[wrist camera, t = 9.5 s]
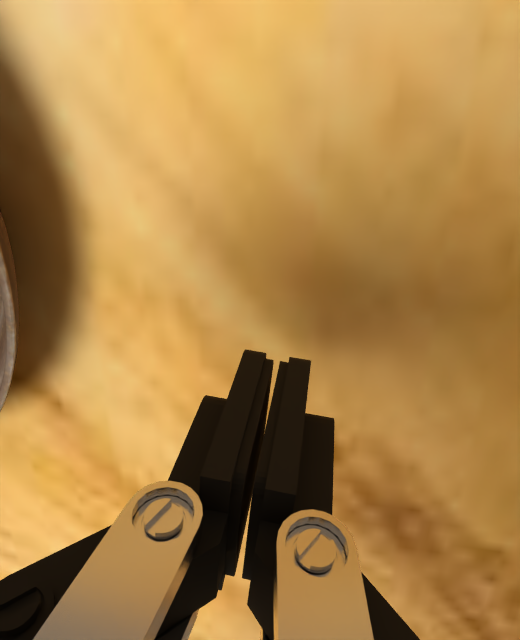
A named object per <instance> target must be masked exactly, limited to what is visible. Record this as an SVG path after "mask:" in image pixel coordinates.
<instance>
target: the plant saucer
mask: <svg viewBox="0 0 520 640" xmlns="http://www.w3.org/2000/svg"><path fill="white" fill-rule="evenodd" d="M18 333H19V301H18V290H17V280H16V273H15V266H14V259H13V255H12V250H11V246H10V242H9V238H8V234H7V230H6V226H5V223H4V220H3V217H2V214H1V211H0V411H1V409H2V407H3V405H4V403H5V400H6V397H7V395H8V391H9V388H10V385H11V381H12V376H13V371H14V366H15V361H16V356H17V347H18Z"/></svg>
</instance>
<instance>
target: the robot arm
mask: <svg viewBox="0 0 520 640" xmlns="http://www.w3.org/2000/svg"><path fill="white" fill-rule="evenodd" d="M310 365H311V361H310V360H304V359H298V358H292V357H290V358H289V363H287V362H282V361H280V364H279V369H278V374H277V378H276V383H275V388H274V392H273V397H272V401H271V406H270V411H269V415H268V420H267V424H266V417H267V409H268V401H269V393H270V386H271V378H272V370H273V360H270V359H266V353H263V352H257V351H251V350H244V353H243V356H242V358H241V361H240V364H239V367H238V370H237V373H236V375H235V378H234V381H233V384H232V387H231V390H230V392H229V395H228V398H227V399H224V398H218V397H212V396H207V395H206V396H205V397H204V398H203V400H202V402H201V404H200V406H199V409H198V411H197V413H196V416H195V418H194V420H193V423H192V425H191V428H190V430H189V432H188V435H187V437H186V439H185V442H184V444H183V446H182V449H181V451H180V453H179V456H178V458H177V460H176V463H175V465H174V467H173V470H172V472H171V474H170V477H169V479H168V481H159V482H156V483H153V484H150V485H147V486H145V487H144V488H142V489H141V490H139V491H137V492H136V493H135V495H134V496H133V497H132V498H131V499H130V500H129V501H128V503H127V504H126V506H125V507H124V508H123V510H122V511H121V513H120V514H119V516H118V517H117V519H116V520H115V521H114V523H113V524H112V525H111V526H109V527H107V528H105V529H103V530H101V531H99V532H96V533H94V534H92V535H90V536H88V537H86V538H84V539H82V540H80V541H78V542H76V543H74V544H72V545H70V546H68V547H66V548H64V549H62V550H60V551H58V552H56V553H54V554H52V555H50V556H48V557H45V558H43V559H41V560H39V561H37V562H35V563H33V564H31V565H29V566H27V567H25V568H23V569H21V570H19V571H17V572H15V573H13V574H11V575H9V576H7V577H6V578H4V579H2V580H1V581H0V640H188V637H189V635H190V633H191V630H192V628H193V625H194V623H195V621H196V618H197V615H198V611H199V609H200V608H201V607H203V606H204V605H206V604H207V603H209V602H210V601H212V600H213V599H215V598H216V596H217V592H218V590H222V586H223V582H224V578H225V574H226V575H230V576H234V575H235V572H236V567H237V563H238V558H239V553H240V549H241V544H242V539H243V535H244V530H245V525H246V521H247V516H248V511H249V507H250V502H251V509H250V517H249V525H248V533H247V542H246V550H245V558H244V566H243V574H242V578H244V579H248V580H251V582H250V589H249V596H248V603H247V605H248V606H249V608H250V610H251V611H252V613H253V614H254V616H255V618H256V619H257V621H258V622H259V624H260V626H261V632H260V640H420V639H419V638H418V637H417V636H416V634H415V633H414V632H413V631H412V630H411V629H410V628H409V626H408V625H407V624H406V623H405V622H404V621H403V619H402V618H401V617H400V616H399V615H398V614H397V613H396V611H395V610H394V609H393V608H392V607H391V606H390V604H389V603H388V602H387V601H386V600H385V599H384V598H383V596H382V595H381V594H380V593H379V592H378V591H377V590H376V588H375V587H374V586H373V585H372V584H371V583H370V581H369V580H368V579H367V578H366V577H365V576H364V575H363V573H362V572H361V567H360V562H359V557H358V551H357V547H356V544H355V541H354V538H353V536H352V534H351V533H350V531H349V530H348V528H347V527H346V526H345V525H344V524H343V523H342V522H341V521H340V520H339V519H337V518H336V517H334V516H332V501H333V461H334V418H329V417H323V416H318V415H312V414H307V413H305V410H306V401H307V392H308V383H309V374H310ZM265 424H266V429H265ZM264 432H265V434H264ZM251 497H252V500H251Z"/></svg>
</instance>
